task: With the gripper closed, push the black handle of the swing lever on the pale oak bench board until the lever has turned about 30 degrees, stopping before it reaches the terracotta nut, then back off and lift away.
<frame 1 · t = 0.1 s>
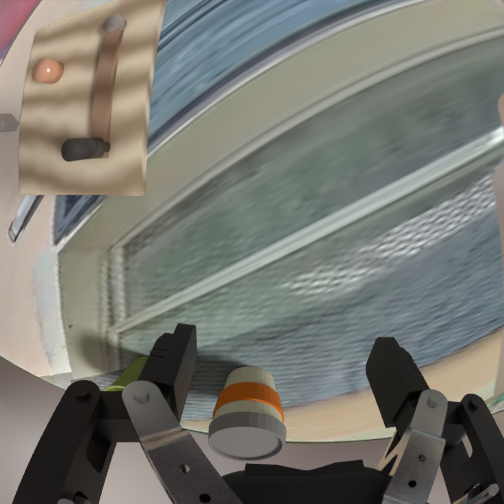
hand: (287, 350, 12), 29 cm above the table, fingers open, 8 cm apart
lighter: (11, 118, 34), on the table
bench board: (80, 95, 33), on the table
reusable coffee cup: (250, 381, 51), on the table
nut: (62, 74, 32), resting on bench board
plant pot: (150, 367, 51), on the table
lever: (93, 78, 27), point 7 cm above the table, hinge at 0.0°
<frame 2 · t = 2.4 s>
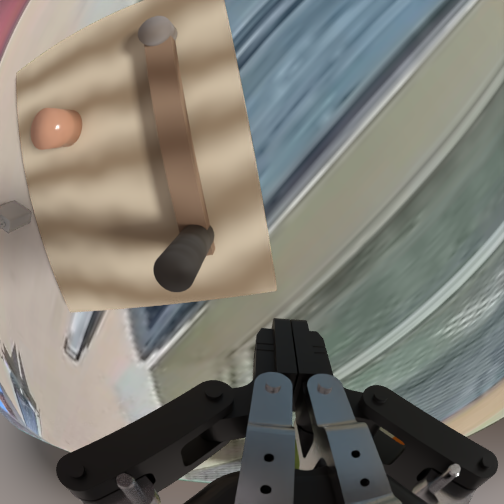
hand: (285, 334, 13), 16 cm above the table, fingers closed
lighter: (16, 207, 28), on the table
bench board: (122, 155, 25), on the table
nut: (78, 128, 24), resting on bench board
lever: (160, 127, 18), point 7 cm above the table, hinge at 0.0°
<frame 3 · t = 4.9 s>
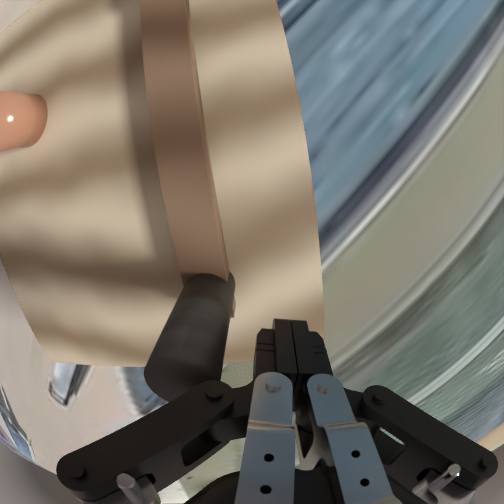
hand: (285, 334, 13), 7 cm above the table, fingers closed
bench board: (103, 157, 17), on the table
nut: (45, 120, 15), resting on bench board
lever: (155, 110, 10), point 7 cm above the table, hinge at 1.7°, touching gripper
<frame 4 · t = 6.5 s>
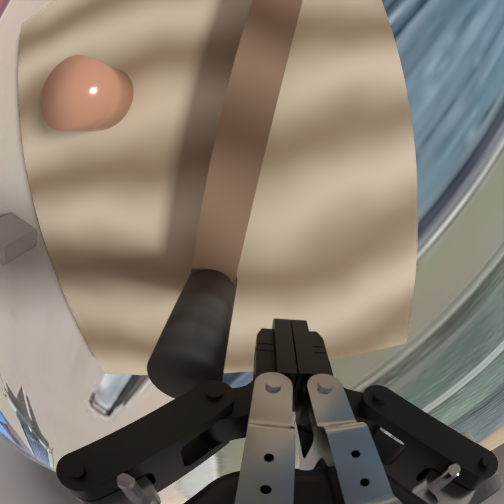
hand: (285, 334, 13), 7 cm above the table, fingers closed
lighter: (14, 221, 19), on the table
bench board: (200, 149, 17), on the table
reusable coffee cup: (449, 446, 32), on the table
nut: (119, 102, 15), resting on bench board
lever: (245, 104, 10), point 7 cm above the table, hinge at 22.4°, touching gripper
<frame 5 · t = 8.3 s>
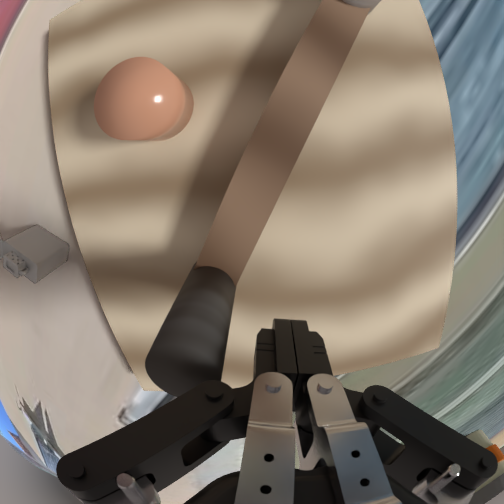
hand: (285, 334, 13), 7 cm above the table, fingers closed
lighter: (40, 234, 19), on the table
bench board: (260, 166, 17), on the table
reusable coffee cup: (463, 444, 31), on the table
nut: (170, 111, 16), resting on bench board
lever: (293, 115, 10), point 7 cm above the table, hinge at 34.4°, touching gripper
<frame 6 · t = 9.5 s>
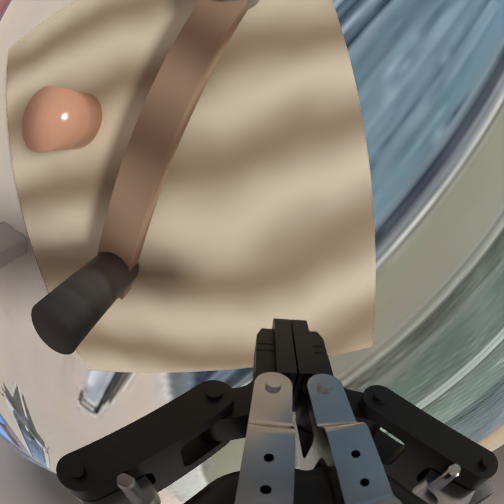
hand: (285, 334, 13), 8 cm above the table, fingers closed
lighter: (7, 230, 20), on the table
bench board: (163, 163, 18), on the table
reusable coffee cup: (438, 450, 32), on the table
nut: (93, 122, 17), resting on bench board
lever: (138, 117, 11), point 7 cm above the table, hinge at 34.5°
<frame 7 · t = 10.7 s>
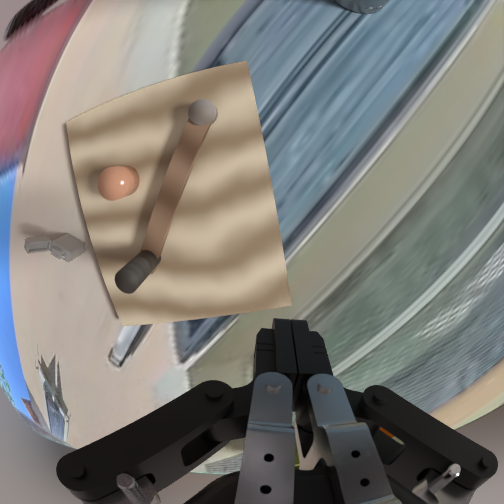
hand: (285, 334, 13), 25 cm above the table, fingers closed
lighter: (69, 238, 38), on the table
bench board: (172, 204, 36), on the table
nut: (132, 179, 35), resting on bench board
lever: (163, 192, 29), point 7 cm above the table, hinge at 34.5°
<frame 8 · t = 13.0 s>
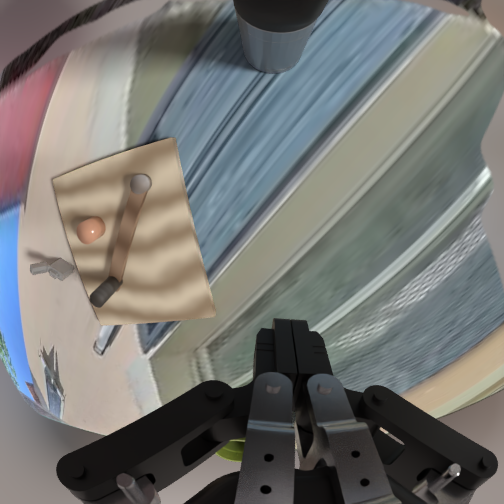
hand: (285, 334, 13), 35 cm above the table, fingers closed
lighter: (62, 261, 51), on the table
bench board: (129, 243, 49), on the table
nut: (101, 223, 48), resting on bench board
plant pot: (241, 417, 65), on the table
lever: (117, 242, 42), point 7 cm above the table, hinge at 34.5°
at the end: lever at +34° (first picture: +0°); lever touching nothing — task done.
